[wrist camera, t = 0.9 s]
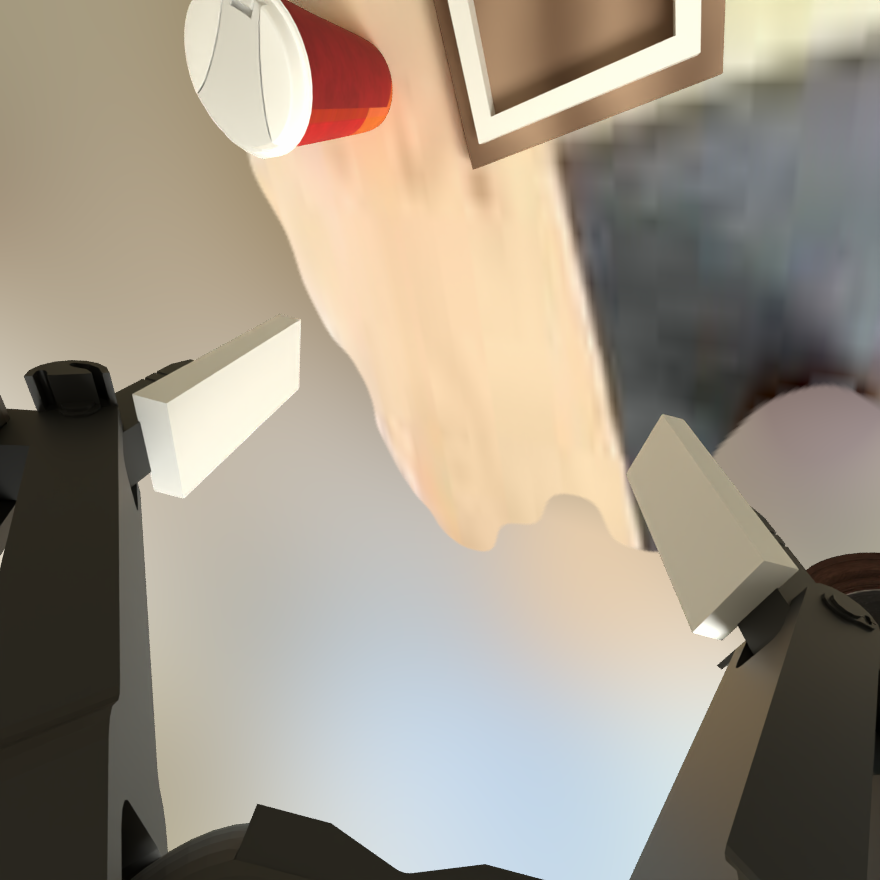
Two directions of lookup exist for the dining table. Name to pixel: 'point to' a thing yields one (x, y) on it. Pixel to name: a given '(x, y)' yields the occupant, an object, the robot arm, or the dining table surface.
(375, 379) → the dining table surface
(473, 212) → the dining table surface
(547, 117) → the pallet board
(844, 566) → the round bulbous part
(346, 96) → the paper cup
